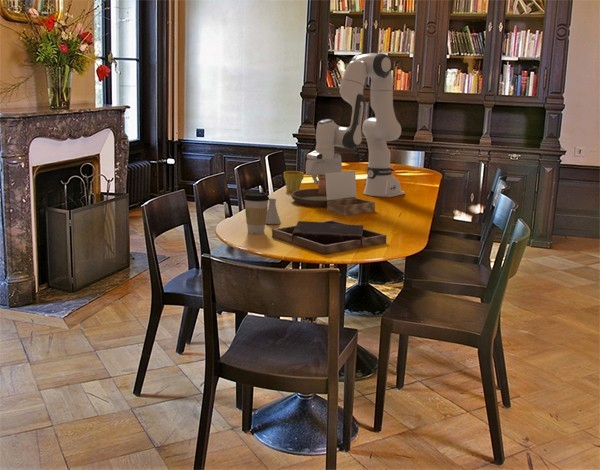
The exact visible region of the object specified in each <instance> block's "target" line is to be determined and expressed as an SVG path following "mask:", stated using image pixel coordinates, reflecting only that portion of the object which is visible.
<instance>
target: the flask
mask: <svg viewBox="0 0 600 470" xmlns="http://www.w3.org/2000/svg"><path fill="white" fill-rule="evenodd" d="M276 202H277V199H276V198H269V200H268V209H267V216H266V224H265V225H271V226H272V225H280V224H281V223H282V222H281V219H280V216H279V212H278V209H277V205H276Z"/></svg>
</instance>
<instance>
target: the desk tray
mask: <svg viewBox="0 0 600 470" xmlns="http://www.w3.org/2000/svg"><path fill="white" fill-rule="evenodd" d="M321 222H322V223H330V224H346V222H345V223H344V222H340V221H337V220H334V219H330V220H324V221H321ZM295 227H296V225H290V226H283V227H277V228H272V229H271V238H274V239H277V240H280V241H282V242H286V243H289V244H292V245H294V246H297V247H300V248H304V249H307V250H310V251H312V252H314V253H317V254H321V255H325V256H326V255H330V254H334V253H341V252H345V251H351V250H356V249H363V248H367V247H373V246H378V245H383V244H386V243H387V236H388V235H387V234H383V233H380V232H376V231H373V230H370V229H366V228H363V234H362V235H363V238H362V247H361V240H351V241H346V242H340V243H335V244H329V245H328V244H320V243H317V242H314V241H310V240H307V239H304V238H301V237H298V236H293V242H292V233H293V231H294V229H295Z"/></svg>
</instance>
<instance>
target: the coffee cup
mask: <svg viewBox="0 0 600 470" xmlns="http://www.w3.org/2000/svg"><path fill="white" fill-rule="evenodd" d="M269 199H270V197H269V195H268V193H267V192H263V191H262V192H261V191H249V192H246V193H245V194H244V196H243V199H242V200H244V211H245V212H244V213H245V220H246V228H247V234H249V235H263V234H264V233H265V228H266V227H265V226H266V225H267V224H266V216H267V211H268V207H269Z"/></svg>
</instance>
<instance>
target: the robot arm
mask: <svg viewBox="0 0 600 470" xmlns="http://www.w3.org/2000/svg"><path fill="white" fill-rule="evenodd" d="M391 70H392V61H391V58H390V56H389V55H388V54H386V53H381V52H380V53H377V52H369V53H359V54H356V55H355V56H353V57H352V58H351V60H350V62H349V63H348V64H347V66H346V68H345V70H344V73H343V75H342V79H341V82H340V86H339V95H340V97H341V99H343V101H345V102H346V103H348V104H349V105H350V106H351V108H352V109H351V110H352V111H351V119H350V125H349V126H348V127H347V126H341V125H338V124H336V122H335V121H334V120H333V119H330V118H327V119H326V118H325V119H321V120H319V121H318V122H317V123H316V124H317V125H316V130H315V141H316V145H315V149H314V150H313V151H311V152H309V153H307V154H306V162H305V174H306V175H307V176H311V178H312V180H313V184H314V185H318V183H319V179H318V175H322V174H325V173H333V172H343V165H342V155H341V154H340V153H335V147H338V148H344V149H348V150H355V149H357V148H358V147H359V146H360V145H361V144H362V141H363V135H364V136H365V139H366V143H367V147H368V149H367V150H368V162H367V163H368V165H367V168H366V173H367V176H366V181H365V188H364V189H363V194H364V195H366V196H372V197H385V198H391V197H393V198H394V197H396V196H400V195H405V193H406V192H405V191H404V190H402V189H401V185H402V184H401V182H400V181H399V180H398V178H396V177H395V176H394V175H393V173H396V168H395V167H391V157H392V156H391V154H392V153H391V150H390V149H389V148H388V145H387V142H391V141H395V140H398V139H399V138H400V136H401V135H402V125H401V124H400V123H399V121H398V120H397V118H396V114H395V109H394V99H393V98H394V93H393V91H394V90H393V89H394V85H393V84H394V82H393V75H392V71H391ZM367 77H368V78H369V77H370V80H371V81H370V108H371V110H373V113H374V115H375V116H373V117H369V118H366V119H365V120H364V118H365V110H366V109H365V108H366V98H365V96H364V88H365V84H366V79H367Z"/></svg>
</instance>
